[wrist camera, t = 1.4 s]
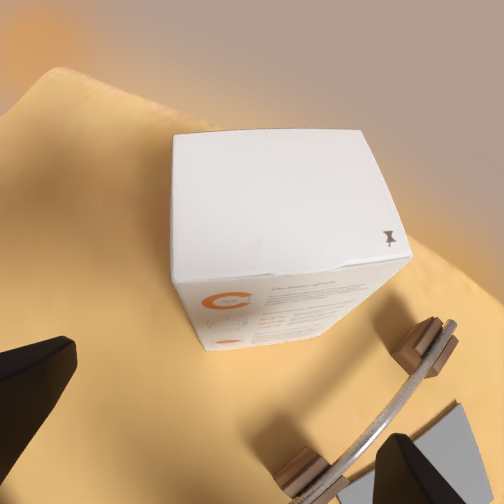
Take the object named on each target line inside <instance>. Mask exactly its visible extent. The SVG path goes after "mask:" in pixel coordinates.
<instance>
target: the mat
mask: <svg viewBox="0 0 504 504" xmlns="http://www.w3.org/2000/svg"><path fill="white" fill-rule="evenodd" d="M412 442H413V443H414V444H415V445H416V446H417V447H418V449H419V450H420V451H421V452H422V453H423V454H424V455H425V457H426V458H427V459H428V460H429V461H430V462H431V463H432V465H433V466H434V467H435V468H436V469H437V470H438V472H439V473H440V474H441V475H442V476H443V477H444V478H445V480H446V481H447V482H448V483H449V484H450V485H451V486H452V488H453V489H454V490H455V491H456V492H457V493H458V494H459V496H460V497H461V498H462V499H463V500H464V501H465V502H466V504H490V503H491V501H492V500H493V499H494V498H493V494H492V491H491V487H490V484H489V480H488V477H487V474H486V471H485V467H484V464H483V461H482V458H481V455H480V452H479V449H478V447H477V444H476V441H475V438H474V435H473V433H472V430H471V427H470V425H469V422H468V420H467V417H466V415H465V412H464V410H463V407H462V405H461V403H458V404H457V405H455V406H454V407H453V408H452V409H451V410H450V411H449V412H448V413H446V414H445V415H444V416H443V417H442V418H441V419H439V420H438V421H437V422H436V423H435V424H434V425H432V426H431V427H430V428H429V429H427V430H426V431H425V432H424V433H422V434H421V435H420V436H419V437H417V438H416V439H415V440H413V441H412ZM374 476H375V468H373V469H372V470H370V471H369V472H367V473H366V474H364V475H362V476H361V477H359V478H357V479H356V480H354V481H352V482H351V483H349V484H347V485H346V486H345V487H344V488H343V489H342V490H341V491H340V492H339V493H338V494H337V497H338V499H339V501H340V503H341V504H372V500H373V487H374Z"/></svg>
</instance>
